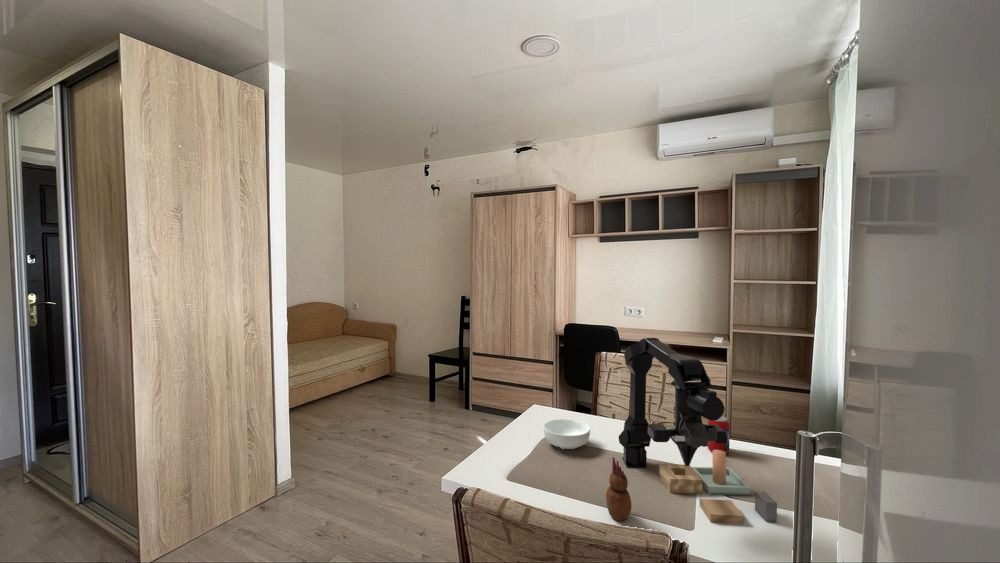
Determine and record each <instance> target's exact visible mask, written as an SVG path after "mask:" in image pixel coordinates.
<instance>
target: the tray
mask: <svg viewBox="0 0 1000 563" xmlns="http://www.w3.org/2000/svg"><path fill="white" fill-rule="evenodd" d="M691 467H692V469H693V470H694V471H695V472H696V473H697V474H698V476H699V477H700V478H701V479H702V489H703V490H704V491H705V492H706V493H707V494H708V495H719V496H720V495H723V496H724V495H727V496H751V493H752V492H751V489H752V488H751V487H750V486H749V485H748V484H747V483H746V482H745V480H744V479H742V478H741V477H740V475H738V473H736V472H735V471H734V470H733V469H732V468H731V467H726V484H725V485H718V484H716V483H714V482H713V466H711V467H709V466H708V467H707V466H691Z"/></svg>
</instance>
